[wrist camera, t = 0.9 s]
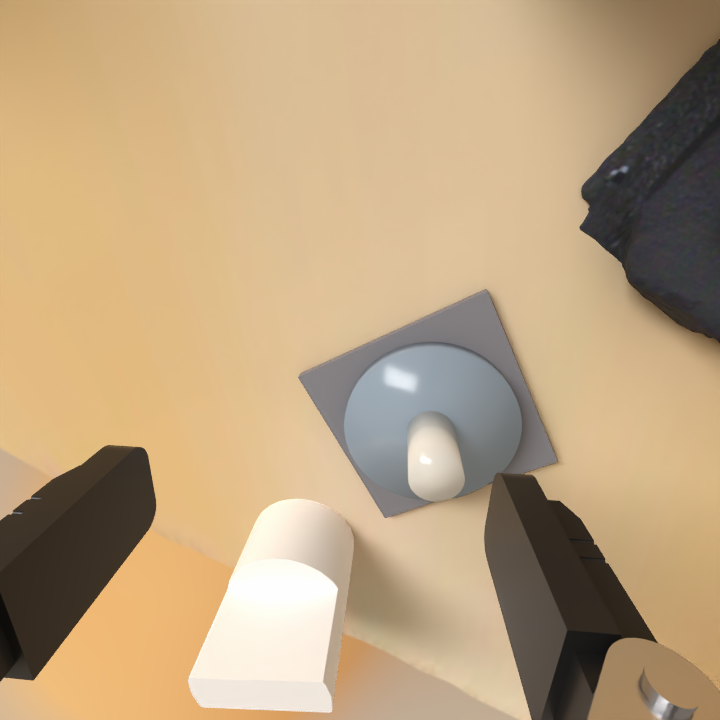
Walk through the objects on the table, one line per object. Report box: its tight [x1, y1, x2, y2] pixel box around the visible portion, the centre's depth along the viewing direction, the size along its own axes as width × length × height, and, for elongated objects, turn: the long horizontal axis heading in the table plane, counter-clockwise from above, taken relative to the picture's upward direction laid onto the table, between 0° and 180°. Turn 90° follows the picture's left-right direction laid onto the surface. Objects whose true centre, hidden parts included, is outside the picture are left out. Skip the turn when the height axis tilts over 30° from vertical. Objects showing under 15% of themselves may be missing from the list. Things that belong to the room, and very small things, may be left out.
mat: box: [298, 289, 558, 518], centre depth 29 cm, size 14×14×1 cm
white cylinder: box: [188, 499, 354, 713], centre depth 30 cm, size 9×9×12 cm
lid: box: [344, 342, 522, 502], centre depth 26 cm, size 12×12×6 cm
